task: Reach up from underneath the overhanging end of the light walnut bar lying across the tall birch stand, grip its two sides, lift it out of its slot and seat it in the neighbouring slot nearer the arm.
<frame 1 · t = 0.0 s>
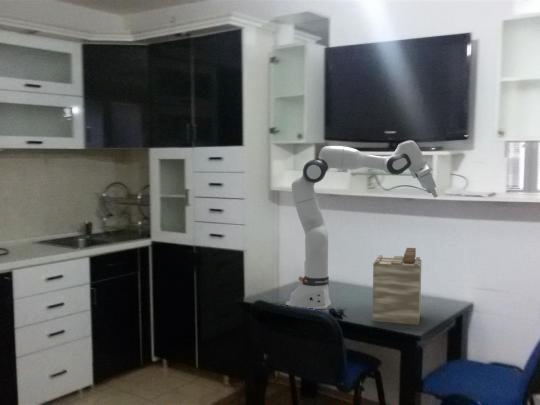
hand: (434, 196, 269), 54 cm above the table, tool tilted 30°, fingers open, 8 cm apart
slotted stand: (396, 317, 256), on the table
rail bar: (409, 259, 258), point 26 cm above the table, touching slotted stand
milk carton: (312, 290, 309), on the table
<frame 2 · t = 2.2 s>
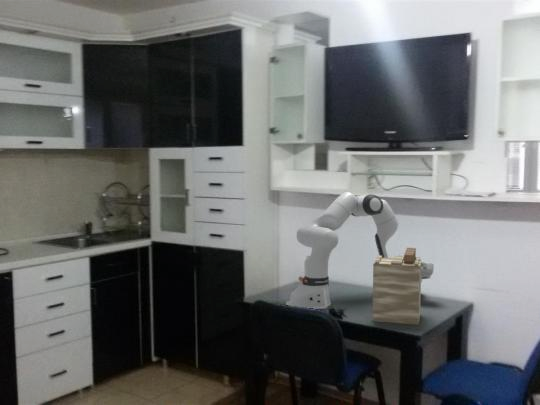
hand: (412, 262, 275), 22 cm above the table, tool pointing upward, fingers open, 8 cm apart
nothing on the table moved.
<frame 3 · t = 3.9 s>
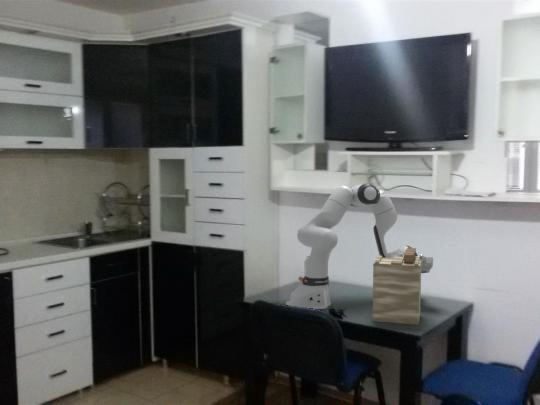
hand: (411, 255, 266), 26 cm above the table, tool pointing upward, fingers open, 8 cm apart
nothing on the table moved.
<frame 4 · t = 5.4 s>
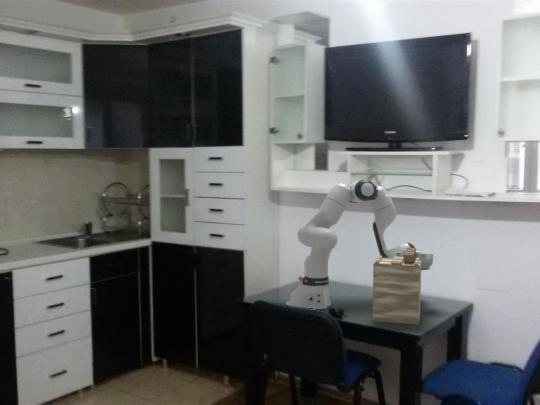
hand: (410, 252, 263), 28 cm above the table, tool pointing upward, fingers closed on rail bar, 4 cm apart
rail bar: (409, 259, 258), point 26 cm above the table, touching gripper, slotted stand
everything else where it was.
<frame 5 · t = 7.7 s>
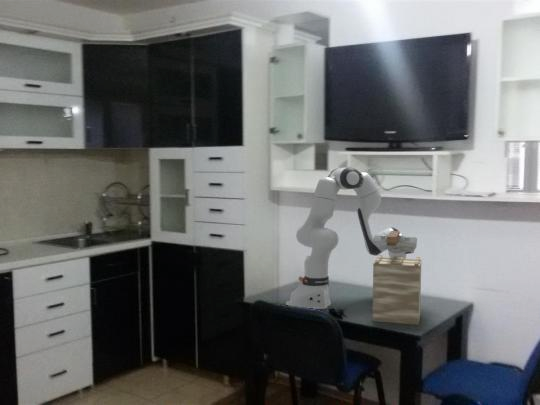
hand: (394, 235, 264), 36 cm above the table, tool pointing upward, fingers closed on rail bar, 4 cm apart
rail bar: (393, 242, 259), point 34 cm above the table, touching gripper
everything else where it was.
when the fingers open (30 cm above the table, at t = 10.0 s): rail bar drops 1 cm, resting on slotted stand.
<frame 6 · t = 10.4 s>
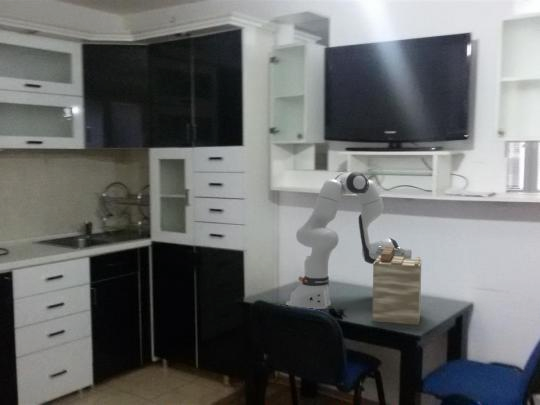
hand: (389, 248, 266), 30 cm above the table, tool pointing upward, fingers open, 8 cm apart
rail bar: (387, 258, 261), point 26 cm above the table, touching slotted stand
everything else where it was.
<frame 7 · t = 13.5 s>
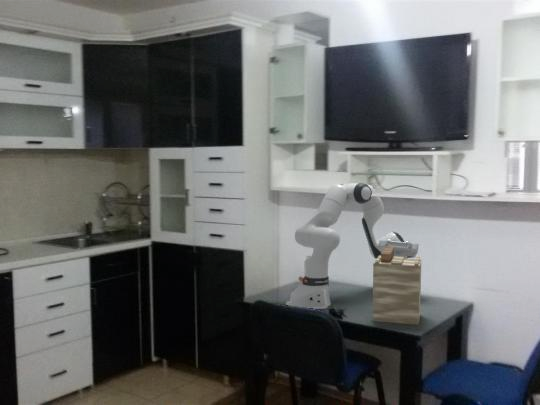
hand: (397, 241, 284), 30 cm above the table, tool pointing upward, fingers open, 8 cm apart
nothing on the table moved.
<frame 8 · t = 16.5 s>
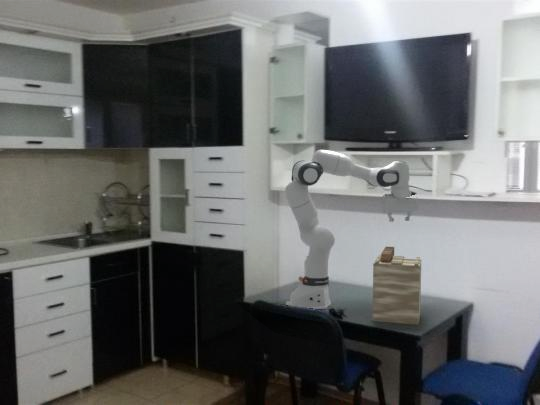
hand: (399, 221, 280), 41 cm above the table, tool pointing down, fingers open, 8 cm apart
nothing on the table moved.
at the end: rail bar inside the target area (0.1 cm from its centre), point 26.0 cm above the table; the gripper is holding nothing; rail bar tilted 0° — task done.
